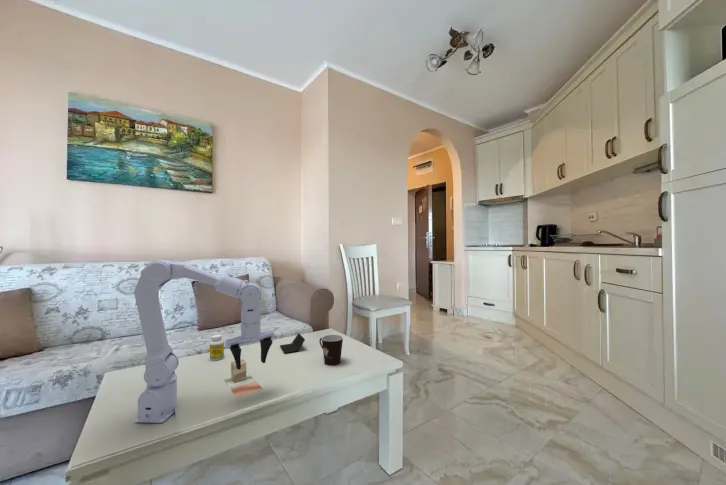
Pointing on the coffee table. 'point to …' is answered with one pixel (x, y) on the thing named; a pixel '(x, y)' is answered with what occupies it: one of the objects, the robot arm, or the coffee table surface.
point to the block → (238, 371)
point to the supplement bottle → (216, 348)
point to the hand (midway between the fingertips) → (251, 365)
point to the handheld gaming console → (293, 345)
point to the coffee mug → (332, 349)
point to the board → (243, 386)
